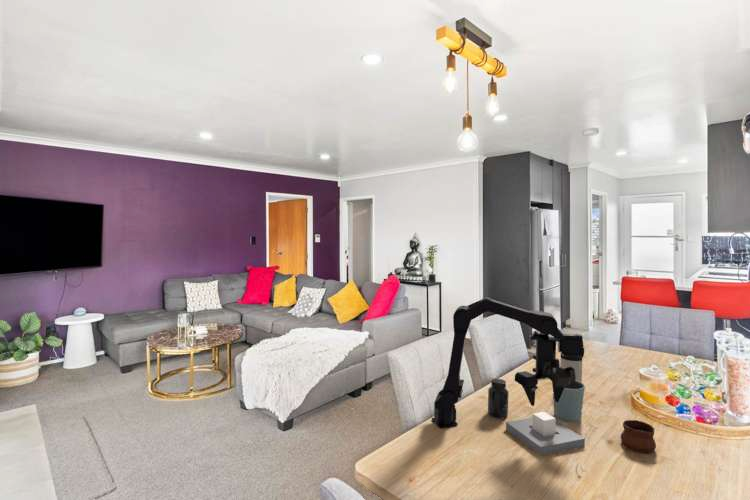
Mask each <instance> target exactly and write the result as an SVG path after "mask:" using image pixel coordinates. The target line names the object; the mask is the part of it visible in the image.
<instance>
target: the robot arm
mask: <svg viewBox="0 0 750 500" xmlns="http://www.w3.org/2000/svg"><path fill="white" fill-rule="evenodd" d="M487 312H489V313H492V314H495V315H498V316H501V317H504V318H508V319H511V320H514V321H517V322H520V323H523V324H525V325H527V326H528V327H530V328H532V329H533V330H534V331H533V332H532V333H531V334H529V339H530V340H532V341H533V340H534V341H535V354H533V355H532V359H533V360H535V367H532V372H533V373H534V374H532V373H531V372H528V371H527V370H525V371H518V372H516V373H515V374H514V381H515V382H516V383H518V384H519V385H520V386H522V388H523V390H524V392H525V394H526V396H527V399H528V402H529V404H530V406H532V407H535V402H536V391H537V389H539V386H537V385H538V383H539V381H545V380H550V381H551V383H552V384H551V385H553V386H552V393H554V399H555V401H556V402H559V399H560V397H561V395H562V392H563V390H564V388H565V386H568V385H569V384H571V383H572V381H575V377H576V375H575V369H573V368H572V367H567V368H565V367H561V366H560V359H558V358H557V353H560V355H561V354H562V356H570V357H581V358H582V359H583V358H584V357H585V346H584V341H583V335H582V334H581V333H576V334H571V333H563V332H562V330H561V329H559V328H558V325H559V324H558V321H557V320H556V318H555V317H554V315H553V314H552V313H549V312H545V311H539V310H527V309H525V308H520V307H517V306H514V305H511V304H508V303H505V302H502V301H499V300H495V299H492V298H490V297H489V296H487V297H483V298H482V299H479V300H477V301H475V302H472V303H470V304H468V305H460V306H458V307H457V308H456V309H455V311H454V312H453V316H452V318H453V319H452V321H453V332H454V333H453V341H452V346H451V353H450V360H449V365H448V371H447V377H446V379H445V382H444V383H443V388H441V390H440V391H438V392H437V394H436V395H437V396H436V398H435V401H434V402H433V403H434V407H433V409H434V410H433V415H434V417H432V418H431V421H432V422H434V423H435V424H436V426H437V427H439V428H440V429H443V428H450V427H457V426H458V423H457V422H456V421H457V409H456V404H457V403H458V402H459V399H461V398H462V394H463V391H464V390H463V387H464V383H465V380H464V379H461V369H462V368H461V367H462V362H463V357H464V356H463V355H464V349H465V344H466V343H465V342H466V336H467V332H468V331H469V328H470V325H471V322H472V321H473V320H474V319H476V318H478V317H479V316H481V315H483V314H486V313H487ZM538 332H540V333H538ZM557 351H558V352H557ZM554 399H553V400H554Z"/></svg>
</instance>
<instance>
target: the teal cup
mask: <svg viewBox="0 0 750 500" xmlns="http://www.w3.org/2000/svg"><path fill="white" fill-rule="evenodd" d="M551 385H552V384H551ZM552 387H553V385H552ZM585 387H586V386H585V384H584V383H583V382H582V383H581V382H579V381H576V380H575V381H572V383H571V384H569V385H568V386H565V388H564V390H563V392H562V395H561V397H560V399H559V402H556V401H555V399H554V393H553V392H552V393H553V394H552V396H553V397H552V398H553V415H554V418H555V419H558V420H559V421H562V422H565V423H574V424H575V423H580V422H581V421H582V414H583V413H582V410H583V404H584V395H585V394H584V393H585Z"/></svg>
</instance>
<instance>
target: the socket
mask: <svg viewBox="0 0 750 500" xmlns="http://www.w3.org/2000/svg"><path fill="white" fill-rule="evenodd" d="M532 421H533V416H531V417H528V418H527V417H526V418H522V419H515V420H514V419H513V420H509V421H505V430H506V431H507V432H509V433H510V434H511V435H513V436H514V437H516V438H517V439H518V440H519V441H521V443H523V444H525V446H527V447H528V448H530V449H531V450H532V451H534V452H535V453H536V454H538V455H539V456H545V455H546V456H547V455H551V454H552V455H553V454H556V453H561V452H565V451H570V450H576V449H581V448H584V447H585V446H586V445H585V444H586V442H585V441H586V440H585V439H586V438H585V437H583V436H581V435H580V434H578V433H576V432H575V431H573V430H571V429H570V428H569V427H566V426H565V425H563V424H562V423H559V422H558V421H557V420H556V427H555V435H550V436H545V437H543V436H542V435H540V434H539V433H537V432H536V431H534V430H533V429H532Z"/></svg>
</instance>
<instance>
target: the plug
mask: <svg viewBox="0 0 750 500" xmlns="http://www.w3.org/2000/svg"><path fill="white" fill-rule="evenodd" d="M532 417H533V421H532V429H533V430H534V431H536V432H537V433H539V434H540V435H542V436H543V437H545V436H550V435H555V427H556V421H557V420H556V419H557V418H556V417H555V416H554V417H553V415H550V414H549V413H547V412H545V411H540V412H533V413H532Z"/></svg>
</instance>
